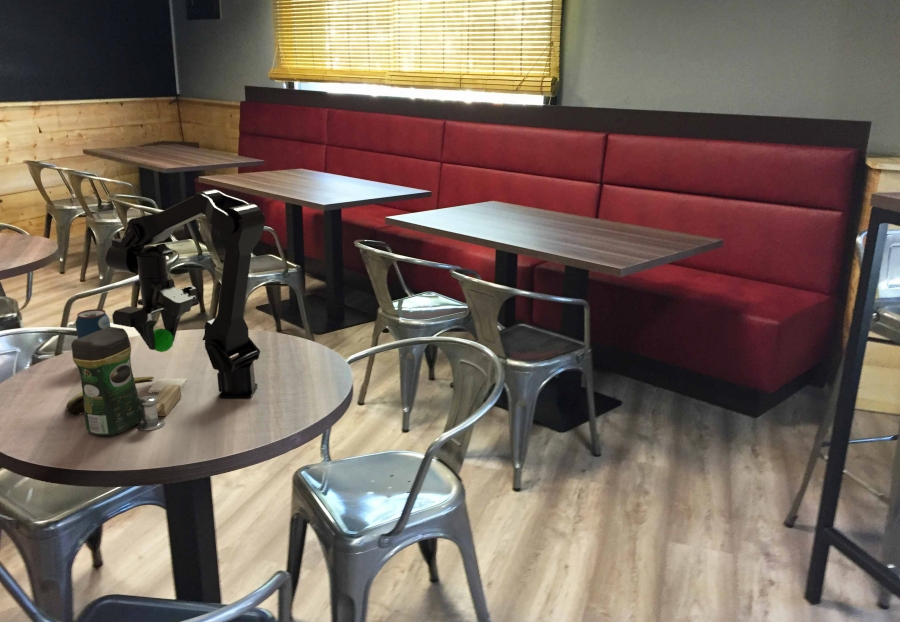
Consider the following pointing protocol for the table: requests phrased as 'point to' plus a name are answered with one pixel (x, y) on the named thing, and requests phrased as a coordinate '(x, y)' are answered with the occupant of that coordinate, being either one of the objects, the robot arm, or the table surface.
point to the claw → (77, 404)
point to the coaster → (162, 382)
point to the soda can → (91, 322)
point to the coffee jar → (107, 381)
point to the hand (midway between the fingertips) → (162, 345)
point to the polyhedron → (163, 340)
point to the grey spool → (149, 414)
